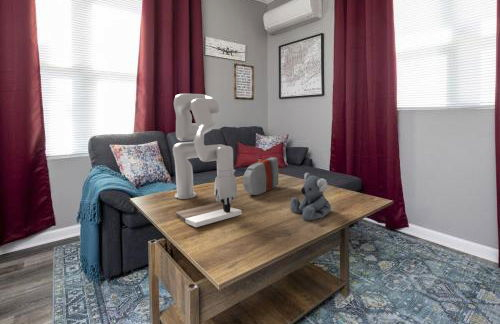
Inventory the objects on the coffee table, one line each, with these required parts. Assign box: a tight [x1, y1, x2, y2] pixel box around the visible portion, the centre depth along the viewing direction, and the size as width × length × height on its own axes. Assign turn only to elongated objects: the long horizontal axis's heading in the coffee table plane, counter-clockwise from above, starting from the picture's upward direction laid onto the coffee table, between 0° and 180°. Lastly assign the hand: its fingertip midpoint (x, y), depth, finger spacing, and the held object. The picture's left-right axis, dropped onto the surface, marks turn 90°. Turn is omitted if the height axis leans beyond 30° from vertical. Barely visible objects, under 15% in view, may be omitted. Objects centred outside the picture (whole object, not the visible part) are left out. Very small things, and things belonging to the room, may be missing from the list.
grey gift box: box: [242, 156, 279, 196], centre depth 175 cm, size 19×6×30 cm
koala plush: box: [289, 171, 332, 221], centre depth 138 cm, size 17×18×20 cm
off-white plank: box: [184, 206, 243, 228], centre depth 132 cm, size 10×24×2 cm, turn 128°
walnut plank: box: [175, 201, 223, 223], centre depth 141 cm, size 10×24×2 cm, turn 128°
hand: (226, 211), depth 135 cm, fingers closed
